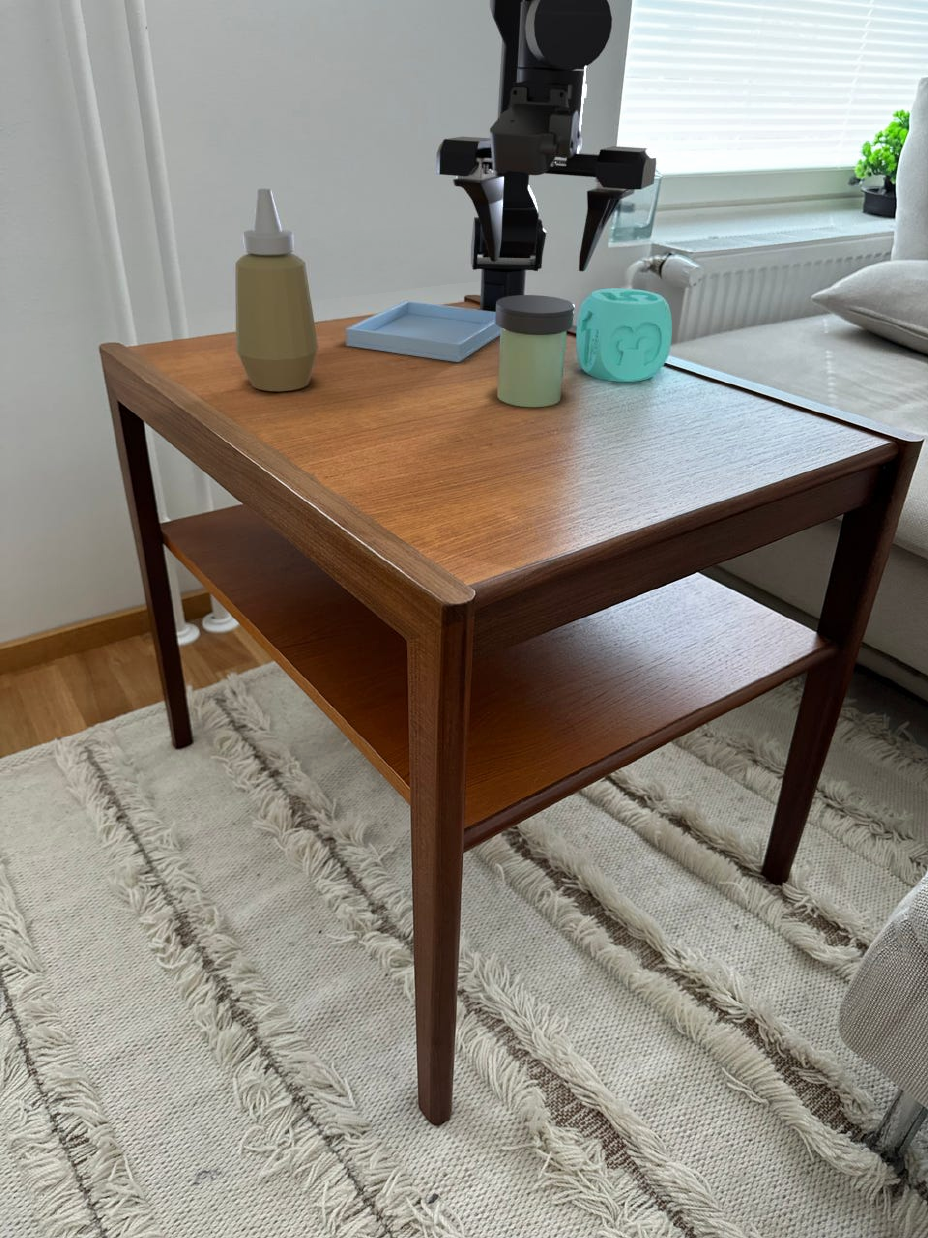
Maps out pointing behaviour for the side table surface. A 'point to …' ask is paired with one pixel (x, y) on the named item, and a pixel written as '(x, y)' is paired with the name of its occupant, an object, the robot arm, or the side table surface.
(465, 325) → the tray
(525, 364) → the jar
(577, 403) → the side table surface
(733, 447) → the side table surface
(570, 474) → the side table surface
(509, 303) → the lid
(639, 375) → the decorative dice
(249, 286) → the squeeze bottle
